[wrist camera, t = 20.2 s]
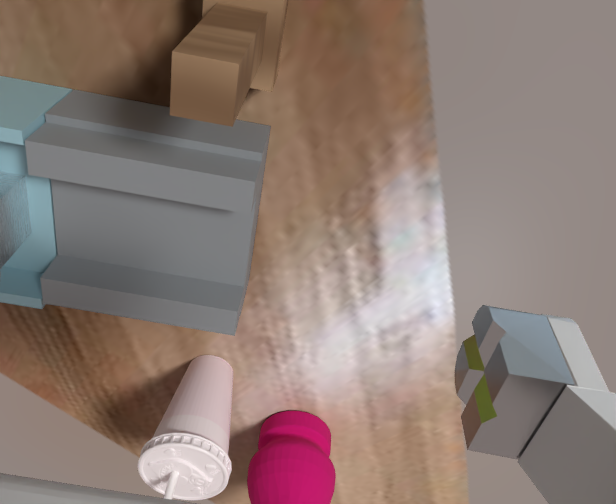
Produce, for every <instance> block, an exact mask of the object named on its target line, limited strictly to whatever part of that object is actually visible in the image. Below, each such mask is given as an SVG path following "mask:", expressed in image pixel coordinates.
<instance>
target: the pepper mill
mask: <svg viewBox="0 0 616 504" xmlns="http://www.w3.org/2000/svg"><path fill="white" fill-rule="evenodd" d="M330 448H331V433H330V430H329V428H328V427H327V425H326V424H325V423H324V422H323V421H322V420H321V419H320V418H318V417H317V416H314V415H312V414H310V413H307V412H302V411H284V412H279V413H277V414H274V415H272V416H271V417H269V418H268V419H267V420H266V421H265V422H264V423H263V425H262V427H261V430H260V436H259V443H258V449H259V451H258V452H257V453H255V455H254V456H253V458H252V459H251V462H250V464H249V468H248V479H247V485H248V493H249V498H250V501H251V504H330V502H331V499H332V496H333V492H334V486H335V469H334V466H333V464H332V462H331V460H330V459H329V455H330Z"/></svg>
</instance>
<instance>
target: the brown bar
mask: <svg viewBox="0 0 616 504" xmlns="http://www.w3.org/2000/svg"><path fill="white" fill-rule="evenodd" d="M287 5H288V0H203V9H202V20H201V21H200V22H199V23H198V24H197V25H196V26H195V27H194V28H193V30H192V31H191V32H190V33H189V34H188V35H187V36H186V37H185V38H184V39H183V40H182V41H181V42H180V43H179V45H178V46H177V47H176V48H175V49H174V50H173V51H172V66H171V93H170V115H171V116H177V117H182V118H187V119H193V120H198V121H204V122H209V123H214V124H220V125H225V126H231V127H233V125H234V122H235V120H236V118H237V116H238V113H239V111H240V109H241V107H242V104H243V102H244V100H245V98H246V95H247V93H248V91H249V89H250V88H254V89H259V90H264V91H270V92H272V90H273V87H274V84H275V81H276V78H277V75H278V69H279V62H280V55H281V48H282V41H283V34H284V26H285V19H286V12H287Z"/></svg>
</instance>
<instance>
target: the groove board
mask: <svg viewBox="0 0 616 504" xmlns="http://www.w3.org/2000/svg"><path fill="white" fill-rule="evenodd" d="M45 119H46V122H45V123H44V124H43V125H42V126H41V127H40V128H38V129H37V130H36V131H35V132H34V133H33V134H31V135H30V136H29V137H28V138H27V139H26V140H25V147H26V156H27V165H28V174H29V175H33V176H39V177H44V178H50V179H51V186H52V197H53V208H54V219H55V231H56V242H57V253H58V255H57V256H56V257H55V259H54V260H53V262H52V263H51V264H50V266H49V267H48V268H47V270H46V271H45V272H44V274H43V275H42V276H41V278H40V280H41V289H42V298H43V303H44V304H50V305H56V306H62V307H68V308H74V309H80V310H86V311H91V312H97V313H103V314H109V315H115V316H121V317H127V318H133V319H139V320H145V321H151V322H157V323H162V324H168V325H174V326H180V327H186V328H192V329H198V330H204V331H210V332H216V333H222V334H228V335H234V336H235V332H236V328H237V324H238V320H239V316H240V314H241V310H242V306H243V302H244V298H245V294H246V290H247V286H248V281H249V275H250V268H251V261H252V254H253V247H254V240H255V233H256V226H257V219H258V212H259V205H260V198H261V191H262V184H263V177H264V170H265V163H266V156H267V149H268V142H269V135H270V128H271V126H268V125H262V124H257V123H252V122H246V121H241V120H235V122H234V125H233V127H231V126H225V125H220V124H214V123H209V122H204V121H198V120H193V119H187V118H182V117H177V116H171V115H170V107H165V106H160V105H155V104H149V103H144V102H138V101H133V100H128V99H122V98H117V97H111V96H106V95H101V94H95V93H90V92H85V91H79V90H73V91H72V92H70V93H69V94H68V95H67V96H66V97H64V98H63V99H62V100H61V101H60V102H58V103H57V104H56V105H55V106H54V107H52V108H51V109H50V110H49V111H47V112H46V113H45Z"/></svg>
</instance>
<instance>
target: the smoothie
mask: <svg viewBox="0 0 616 504" xmlns="http://www.w3.org/2000/svg"><path fill="white" fill-rule="evenodd" d="M232 387H233V369H232V367H231V365H230V364H229V363H228V362H227V361H225V360H224V359H222V358H220V357H217V356H213V355H202V356H199V357H196V358H195V359H193V360H192V361H191V363H190V364H189V366H188V368H187V370H186V372H185V374H184V376H183V378H182V380H181V382H180V384H179V386H178V388H177V390H176V392H175V394H174V396H173V398H172V400H171V402H170V404H169V406H168V408H167V410H166V412H165V414H164V416H163V418H162V420H161V422H160V424H159V426H158V427H157V429H156V431H155V433H154V435H153V437H152V439H151V440H149V441H148V442H146V444H145V445H144V446H143V448H142V450H141V455H140V458H139V461H138V471H139V474H140V476H141V478H142V479H143V480H144V482H146V484H147V485H148V486H150V487H151V488H152V489H154V490H155V491H157V492H159V493H161V494H163V495H164V497H163V498H164V499H170V500H172V498H176V499H180V500H204V499H208V498H211V497H213V496H216V495H218V494H219V493H221V492H222V491H223V490H224V489H225V487H226V486H227V484H228V480H229V476H230V473H231V471H232V466H231V461H230V459H229V457H228V451H229V434H230V419H231V403H232Z"/></svg>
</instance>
